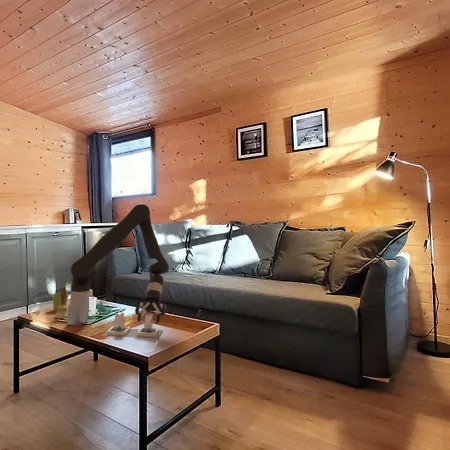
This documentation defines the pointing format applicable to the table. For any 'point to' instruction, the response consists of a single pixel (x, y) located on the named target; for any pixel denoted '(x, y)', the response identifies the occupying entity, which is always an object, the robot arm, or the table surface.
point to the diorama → (101, 308)
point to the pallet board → (133, 333)
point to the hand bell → (62, 306)
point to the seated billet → (119, 321)
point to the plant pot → (58, 300)
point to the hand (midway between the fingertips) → (148, 322)
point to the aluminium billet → (148, 323)
